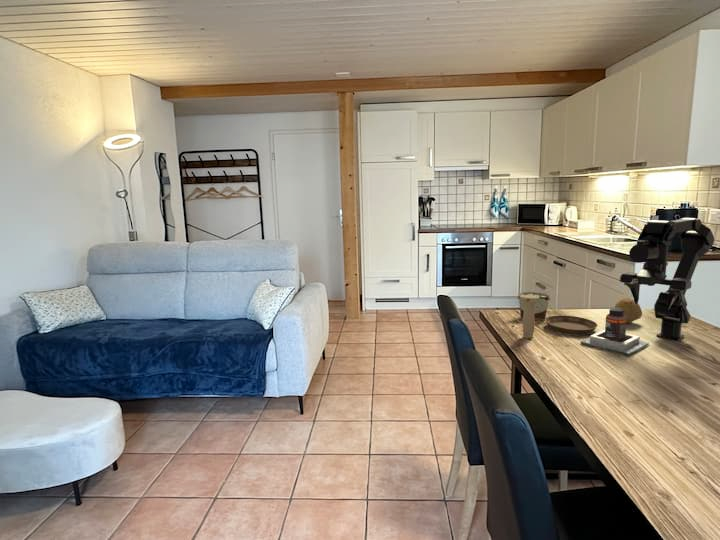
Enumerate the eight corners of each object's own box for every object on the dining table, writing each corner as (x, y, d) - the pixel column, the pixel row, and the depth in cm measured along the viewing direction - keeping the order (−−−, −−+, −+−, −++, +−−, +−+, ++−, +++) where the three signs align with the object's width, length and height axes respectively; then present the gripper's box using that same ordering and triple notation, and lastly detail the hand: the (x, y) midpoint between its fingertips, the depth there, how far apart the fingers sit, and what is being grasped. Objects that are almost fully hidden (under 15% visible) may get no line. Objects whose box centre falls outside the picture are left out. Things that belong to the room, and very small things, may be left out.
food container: (548, 315, 180) (549, 292, 179) (549, 320, 175) (550, 295, 173) (516, 313, 184) (517, 291, 183) (516, 317, 179) (517, 294, 177)
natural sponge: (607, 319, 173) (609, 295, 171) (628, 318, 174) (630, 294, 172) (623, 326, 164) (625, 300, 162) (645, 325, 165) (647, 299, 163)
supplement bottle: (626, 341, 145) (629, 308, 143) (622, 346, 141) (624, 312, 139) (606, 337, 149) (609, 305, 147) (601, 342, 145) (604, 309, 143)
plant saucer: (598, 326, 166) (599, 318, 165) (594, 340, 151) (595, 331, 151) (549, 320, 175) (549, 313, 175) (540, 332, 160) (541, 324, 160)
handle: (536, 340, 151) (537, 298, 149) (517, 337, 155) (518, 297, 152) (538, 336, 155) (540, 295, 153) (520, 334, 159) (521, 294, 156)
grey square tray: (601, 334, 156) (601, 326, 155) (648, 345, 144) (649, 336, 143) (580, 344, 147) (581, 335, 146) (628, 356, 135) (629, 347, 134)
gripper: (614, 259, 143) (610, 305, 145) (681, 266, 128) (676, 317, 131) (628, 255, 149) (625, 299, 152) (694, 261, 135) (689, 310, 137)
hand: (651, 306), depth 143 cm, fingers open, 9 cm apart
